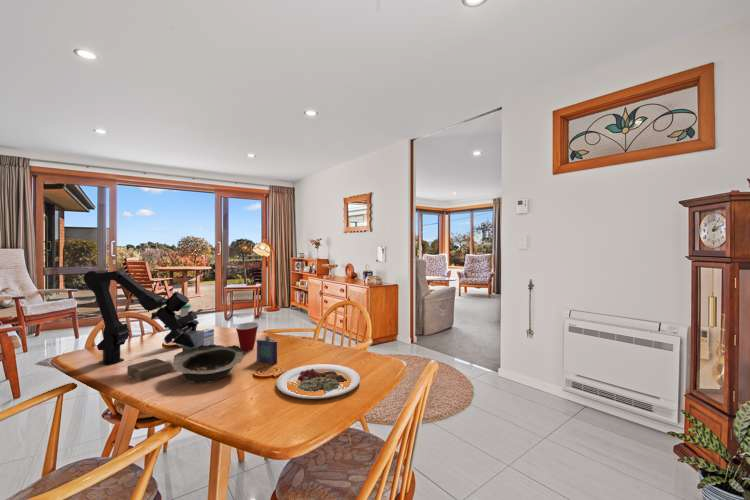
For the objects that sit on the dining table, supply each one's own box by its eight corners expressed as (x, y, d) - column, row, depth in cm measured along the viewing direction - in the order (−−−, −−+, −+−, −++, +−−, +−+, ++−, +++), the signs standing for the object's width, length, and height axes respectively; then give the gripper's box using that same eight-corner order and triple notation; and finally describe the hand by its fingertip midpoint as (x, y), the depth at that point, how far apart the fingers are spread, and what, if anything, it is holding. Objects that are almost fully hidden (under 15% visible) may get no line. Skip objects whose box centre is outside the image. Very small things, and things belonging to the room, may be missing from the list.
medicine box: (202, 351, 152) (202, 332, 152) (194, 350, 153) (194, 332, 153) (214, 346, 160) (214, 328, 160) (206, 345, 161) (206, 328, 161)
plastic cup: (231, 348, 157) (231, 324, 157) (253, 344, 164) (253, 320, 164) (239, 354, 149) (239, 328, 149) (262, 349, 156) (262, 324, 156)
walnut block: (127, 376, 123) (127, 366, 123) (155, 368, 132) (155, 358, 132) (141, 382, 118) (141, 371, 118) (169, 373, 127) (170, 362, 127)
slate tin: (182, 362, 136) (182, 334, 136) (189, 357, 142) (189, 330, 142) (197, 362, 137) (197, 334, 137) (203, 357, 143) (203, 330, 143)
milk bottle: (197, 343, 164) (197, 304, 164) (181, 347, 157) (181, 306, 157) (188, 341, 168) (189, 302, 168) (172, 344, 161) (173, 304, 161)
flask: (255, 361, 140) (255, 335, 140) (259, 359, 143) (260, 333, 143) (274, 365, 136) (275, 337, 136) (279, 362, 139) (279, 335, 139)
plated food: (337, 410, 100) (337, 399, 100) (257, 393, 110) (257, 383, 110) (371, 375, 128) (371, 366, 128) (306, 364, 138) (306, 356, 138)
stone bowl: (214, 359, 141) (216, 338, 140) (256, 375, 130) (258, 352, 130) (155, 379, 119) (157, 354, 118) (199, 399, 108) (202, 372, 107)
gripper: (172, 310, 130) (201, 337, 131) (194, 302, 148) (219, 326, 149) (151, 329, 129) (180, 357, 130) (176, 319, 148) (201, 343, 149)
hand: (196, 344), depth 140 cm, fingers closed on slate tin, 6 cm apart
